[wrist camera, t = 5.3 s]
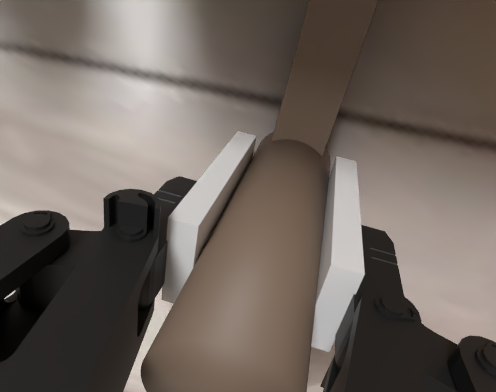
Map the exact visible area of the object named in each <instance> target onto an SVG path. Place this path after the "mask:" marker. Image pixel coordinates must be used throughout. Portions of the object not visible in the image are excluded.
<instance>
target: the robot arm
mask: <svg viewBox="0 0 496 392" xmlns="http://www.w3.org/2000/svg"><path fill="white" fill-rule="evenodd" d="M255 141H256V136H255V135H251V134H248V133H244V132H240V131H237V133H236V134H235V135H234V136H233V138H232V139H231V140H230V141H229V142H228V144H227V145H226V146H225V147H224V149H223V150H222V151H221V152H220V154H219V155H218V156H217V157H216V159H215V160H214V161H213V162H212V164H211V165H210V166H209V167H208V169H207V170H206V171H205V172H204V174H203V175H202V176H201V177H200V179H199V180H198V181H194V180H191V179H187V178H183V177H180V176H179V177H176V178H174V179H171V180H169V181H167V182H166V183H165V184H164V185H163V186H162V187H161V188H160V189H159V191H157V192H156V193H155V194H154V195H153V194H152V193H150V192H146V191H143V190H137V189H125V190H118V191H116V192H113V193H110V194H109V195H107V196H106V197H105V198H104V228H103V230H102V231H81V230H70V228H69V222H68V220H67V218H66V217H65V216H63V215H62V214H60V213H57V212H53V211H33V212H28V213H24V214H21V215H19V216H17V217H14V218H12V219H11V220H9V221H7V222H6V223H4V224H2V225H0V392H123V391H124V388H125V385H126V383H127V380H128V377H129V375H130V372H131V370H132V367H133V364H134V362H135V359H136V356H137V354H138V351H139V349H140V346H141V343H142V341H143V338H144V335H145V333H146V330H147V327H148V325H149V322H150V320H151V317H152V314H153V311H154V301H155V297H156V296H157V294H158V292H159V291H160V289H161V288H162V300H165V301H168V302H171V303H175V301H176V299H177V297H178V295H179V293H180V291H181V290H182V288H183V286H184V284H185V282H186V280H187V278H188V277H189V275H190V273H191V271H192V269H193V267H194V266H195V264H196V262H197V260H198V258H199V256H200V254H201V253H202V251H203V249H204V247H205V245H206V243H207V241H208V240H209V238H210V236H211V234H212V232H213V230H214V228H215V227H216V225H217V223H218V221H219V219H220V217H221V215H222V214H223V212H224V210H225V208H226V206H227V204H228V203H229V201H230V199H231V197H232V195H233V193H234V191H235V190H236V188H237V186H238V184H239V182H240V180H241V178H242V177H243V175H244V173H245V171H246V169H247V167H248V165H249V164H250V162H251V160H252V156H253V151H254V146H255ZM162 286H163V287H162ZM14 290H15V291H16V292H15V293H14V294H12V295H11V296H10V297H8V298H6V299H4V298H5V297H6V296H8V295H9V294H10V293H12V292H13V291H14ZM334 341H335V356H334V358H333V360H332V362H331V364H330V366H329V368H328V371H327V373H326V375H325V377H324V379H323V381H322V384H321V387H323V388H324V390H323V392H496V343H495V342H493V341H491V340H489V339H486V338H483V337H480V336H468V337H465V338H463V339H462V340H461V341H460V343H459V344H458V345H457V344H455V343H453V342H451V341H450V340H448V339H446V338H444V337H442V336H440V335H438V334H437V333H435V332H433V331H432V330H430V329H428V328H427V327H425V326H424V325H423V324H422V323H421V318H420V315H419V312H418V310H417V309H416V308H415V306H414V305H413V304H412V303H411V302H410V301H409V300H408V299H406V298H405V297H404V294H403V289H402V284H401V279H400V274H399V269H398V265H397V259H396V256H395V249H394V244H393V242H392V240H391V239H390V238H389V236H388V235H387V234H386V232H385V231H381V230H378V229H374V228H370V227H367V226H363V225H361V216H360V203H359V189H358V176H357V162H356V161H354V160H350V159H346V158H342V157H338V156H336V159H335V162H334V165H333V168H332V171H331V174H330V177H329V182H328V191H327V201H326V210H325V219H324V229H323V238H322V248H321V257H320V266H319V276H318V285H317V295H316V304H315V315H314V324H313V334H312V343H311V347H314V348H317V349H320V350H323V351H326V352H330V350H331V348H332V346H333V344H334Z"/></svg>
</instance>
